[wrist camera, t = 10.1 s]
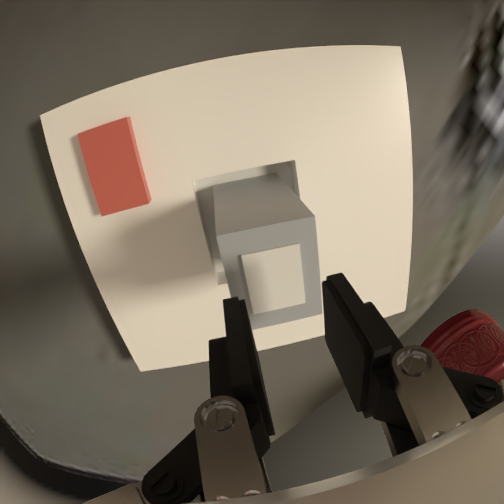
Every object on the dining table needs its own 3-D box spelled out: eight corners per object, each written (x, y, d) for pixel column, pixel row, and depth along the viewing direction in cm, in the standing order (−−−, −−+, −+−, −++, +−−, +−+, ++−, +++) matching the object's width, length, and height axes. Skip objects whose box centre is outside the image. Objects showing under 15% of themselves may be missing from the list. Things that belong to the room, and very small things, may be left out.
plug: (276, 172, 20) (316, 217, 13) (286, 243, 22) (323, 315, 15) (212, 185, 20) (216, 237, 13) (228, 255, 22) (240, 334, 15)
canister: (385, 396, 33) (446, 518, 17) (434, 306, 28) (540, 440, 12) (457, 382, 35) (518, 475, 20) (503, 304, 30) (589, 397, 14)
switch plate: (385, 49, 17) (407, 45, 15) (394, 297, 26) (409, 316, 24) (53, 113, 16) (33, 116, 14) (143, 354, 26) (139, 378, 23)
